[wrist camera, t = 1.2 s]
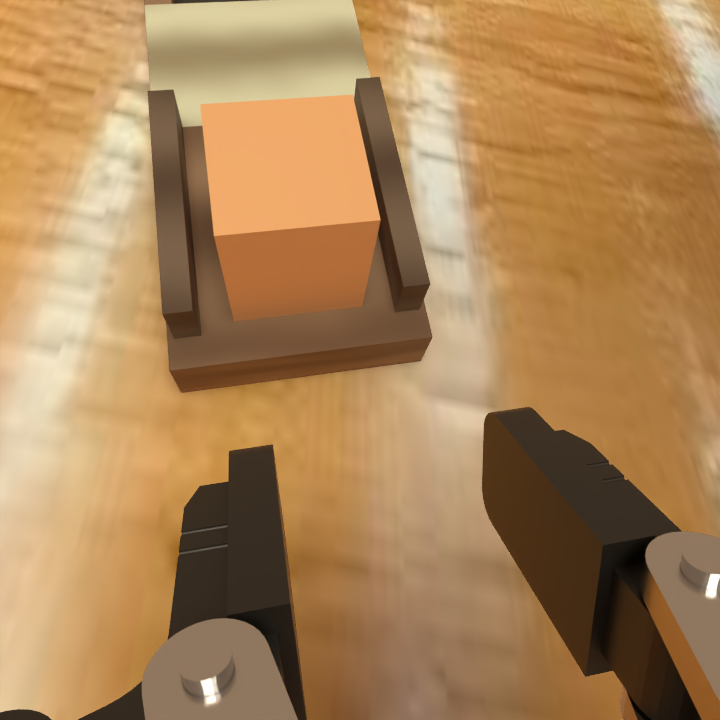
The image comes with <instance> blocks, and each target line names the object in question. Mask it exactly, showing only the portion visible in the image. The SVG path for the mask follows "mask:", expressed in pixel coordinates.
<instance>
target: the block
mask: <svg viewBox="0 0 720 720" xmlns="http://www.w3.org/2000/svg"><path fill="white" fill-rule="evenodd" d="M200 108H201V117H202V127H203V136H204V146H205V155H206V165H207V174H208V184H209V193H210V203H211V212H212V222H213V231H214V238H215V243H216V247H217V251H218V255H219V260H220V264H221V268H222V272H223V277H224V281H225V285H226V290H227V294H228V298H229V302H230V307H231V311H232V315H233V319H234V322H235V321H243V320H252V319H260V318H269V317H277V316H286V315H294V314H303V313H311V312H320V311H328V310H337V309H345V308H354V307H362V305H363V301H364V296H365V291H366V287H367V282H368V277H369V272H370V268H371V263H372V258H373V254H374V249H375V244H376V240H377V235H378V230H379V225H380V221H381V219H380V215H379V210H378V206H377V201H376V197H375V192H374V188H373V183H372V179H371V174H370V170H369V165H368V161H367V156H366V152H365V147H364V143H363V138H362V134H361V129H360V125H359V120H358V116H357V111H356V107H355V102H354V98H353V95H338V96H322V97H307V98H291V99H275V100H259V101H244V102H228V103H212V104H200Z"/></svg>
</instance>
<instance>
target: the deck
mask: <svg viewBox="0 0 720 720" xmlns="http://www.w3.org/2000/svg"><path fill="white" fill-rule="evenodd" d="M144 3H145V18H146V33H147V47H148V62H149V77H150V91H148V101H149V116H150V131H151V146H152V162H153V177H154V192H155V207H156V222H157V237H158V252H159V267H160V282H161V298H162V313H163V316H164V318H165V320H166V326H167V341H168V355H169V370H170V372H171V374H172V376H173V378H174V379H175V381H176V383H177V385H178V387H179V388H180V390H181V392H189V391H197V390H204V389H212V388H219V387H227V386H234V385H242V384H249V383H257V382H264V381H272V380H279V379H287V378H294V377H302V376H309V375H317V374H324V373H332V372H339V371H347V370H354V369H362V368H370V367H377V366H385V365H392V364H400V363H407V362H415V361H421V359H422V357H423V355H424V353H425V351H426V349H427V347H428V345H429V343H430V341H431V339H432V333H431V329H430V325H429V321H428V316H427V312H426V308H425V304H424V297H425V295H426V293H427V290H428V288H429V285H430V282H429V277H428V273H427V269H426V265H425V261H424V257H423V253H422V249H421V245H420V241H419V237H418V233H417V228H416V224H415V220H414V216H413V212H412V208H411V204H410V200H409V196H408V192H407V188H406V184H405V179H404V175H403V171H402V167H401V163H400V159H399V155H398V151H397V147H396V143H395V139H394V135H393V131H392V126H391V122H390V118H389V114H388V110H387V106H386V102H385V98H384V94H383V90H382V86H381V82H380V77H374V78H371V77H370V73H369V69H368V64H367V60H366V56H365V52H364V48H363V43H362V39H361V35H360V31H359V27H358V23H357V18H356V14H355V10H354V6H353V2H352V0H144ZM338 95H353V98H354V102H355V107H356V111H357V116H358V120H359V125H360V129H361V134H362V138H363V143H364V147H365V152H366V156H367V161H368V165H369V170H370V174H371V179H372V183H373V188H374V192H375V197H376V201H377V206H378V210H379V215H380V219H381V221H380V225H379V230H378V235H377V240H376V244H375V249H374V254H373V258H372V263H371V268H370V272H369V277H368V282H367V287H366V291H365V296H364V301H363V305H362V307H354V308H345V309H337V310H328V311H320V312H311V313H303V314H294V315H286V316H277V317H269V318H260V319H252V320H243V321H235V322H234V319H233V315H232V311H231V307H230V302H229V298H228V294H227V290H226V285H225V281H224V277H223V272H222V268H221V264H220V260H219V255H218V251H217V247H216V243H215V238H214V231H213V222H212V212H211V203H210V193H209V184H208V174H207V165H206V155H205V146H204V136H203V127H202V117H201V108H200V104H212V103H228V102H244V101H259V100H275V99H291V98H307V97H322V96H338Z"/></svg>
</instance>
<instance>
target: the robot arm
mask: <svg viewBox="0 0 720 720" xmlns="http://www.w3.org/2000/svg"><path fill="white" fill-rule="evenodd" d="M482 492H483V499H484V504H485V508H486V511H487V514H488V516H489V519H490V521H491V523H492V524H493V526H494V528H495V529H496V531H497V533H498V534H499V536H500V537H501V539H502V541H503V542H504V544H505V546H506V547H507V549H508V551H509V552H510V554H511V555H512V557H513V559H514V560H515V562H516V564H517V565H518V567H519V569H520V570H521V572H522V574H523V575H524V577H525V578H526V580H527V582H528V583H529V585H530V587H531V588H532V590H533V592H534V593H535V595H536V596H537V598H538V600H539V601H540V603H541V605H542V606H543V608H544V610H545V611H546V613H547V615H548V616H549V618H550V619H551V621H552V623H553V624H554V626H555V628H556V629H557V631H558V633H559V634H560V636H561V638H562V639H563V641H564V642H565V644H566V646H567V647H568V649H569V651H570V652H571V654H572V656H573V657H574V659H575V660H576V662H577V664H578V665H579V667H580V669H581V670H582V672H583V674H584V675H585V677H586V676H590V675H595V674H599V673H604V672H608V671H614V672H615V674H616V675H617V677H618V678H619V680H620V681H621V683H622V684H623V687H622V693H621V699H620V709H621V713H622V717H623V720H720V538H717V537H714V536H710V535H706V534H702V533H696V532H682V531H681V530H680V529H679V528H678V527H677V526H676V525H675V524H674V523H673V522H672V521H670V520H669V519H668V518H667V517H666V516H665V515H664V514H663V513H662V512H661V511H660V510H659V509H658V508H657V507H656V506H655V505H654V504H653V503H652V502H651V501H650V500H649V499H648V498H647V497H646V496H645V495H643V494H642V493H641V492H640V491H639V490H638V489H637V488H636V487H635V486H634V485H633V484H632V483H631V482H630V481H629V480H625V479H624V475H623V474H622V473H621V472H620V471H619V470H618V469H616V468H615V467H614V466H613V465H609V461H608V460H607V459H606V458H605V457H604V456H603V455H602V454H601V453H600V452H599V451H598V450H597V449H596V448H595V447H594V446H593V445H592V444H591V443H589V442H587V441H585V440H583V439H581V438H579V437H577V436H575V435H573V434H571V433H569V432H567V431H565V430H559V431H554V430H553V429H552V428H551V427H550V426H549V425H548V424H547V423H546V422H545V421H544V420H543V419H542V418H541V416H540V415H539V414H538V413H537V412H536V411H535V410H534V409H532V408H530V407H525V408H518V409H512V410H505V411H498V412H491V413H488V414H487V416H486V418H485V422H484V442H483V475H482ZM181 532H182V536H181V538H180V546H179V556H178V563H177V571H176V579H175V588H174V596H173V604H172V612H171V620H170V629H169V636H168V640H167V641H166V642H165V643H164V644H163V645H162V646H161V647H160V648H159V649H158V650H157V652H156V653H155V654H154V655H153V657H152V658H151V660H150V662H149V664H148V665H147V668H146V670H145V673H144V676H143V681H142V682H140V683H139V684H138V685H137V686H136V687H135V688H133V689H132V690H131V691H130V692H128V693H127V694H125V695H124V696H122V697H121V698H120V699H118V700H116V701H114V702H112V703H110V704H109V705H107V706H105V707H103V708H101V709H99V710H97V711H95V712H93V713H90V714H88V715H86V716H84V717H82V718H80V719H78V720H307V717H306V708H305V700H304V691H303V683H302V674H301V666H300V657H299V649H298V640H297V632H296V623H295V615H294V606H293V598H292V589H291V581H290V572H289V564H288V555H287V547H286V539H285V531H284V524H283V516H282V509H281V501H280V494H279V487H278V479H277V472H276V464H275V457H274V450H273V445H266V446H260V447H253V448H246V449H239V450H233V451H229V482H223V483H216V484H210V485H204V486H200V487H199V488H198V489H197V491H196V492H195V494H194V495H193V496H192V498H191V499H190V501H189V502H188V503H187V505H186V506H185V508H184V514H183V522H182V530H181ZM0 720H51V719H50V718H49V717H48V716H46V715H44V714H42V713H40V712H37V711H33V710H20V709H18V710H10V711H5V712H1V713H0Z"/></svg>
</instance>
